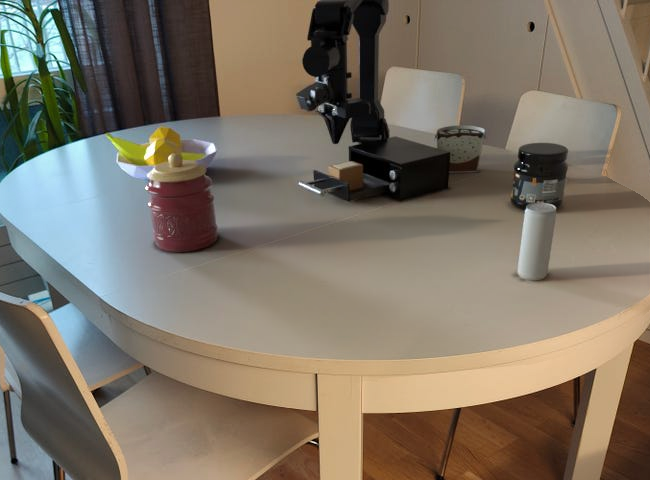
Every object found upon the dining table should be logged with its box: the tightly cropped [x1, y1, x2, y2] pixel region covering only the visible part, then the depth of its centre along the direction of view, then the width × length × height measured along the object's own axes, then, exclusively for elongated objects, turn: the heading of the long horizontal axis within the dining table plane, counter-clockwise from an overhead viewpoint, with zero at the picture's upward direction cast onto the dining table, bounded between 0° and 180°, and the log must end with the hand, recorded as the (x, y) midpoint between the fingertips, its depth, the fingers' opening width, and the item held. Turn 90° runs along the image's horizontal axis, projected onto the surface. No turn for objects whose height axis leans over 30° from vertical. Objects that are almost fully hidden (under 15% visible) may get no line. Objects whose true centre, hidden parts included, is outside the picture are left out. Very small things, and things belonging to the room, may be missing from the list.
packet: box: [328, 161, 363, 190], centre depth 156 cm, size 4×6×5 cm
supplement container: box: [510, 142, 569, 212], centre depth 142 cm, size 10×10×12 cm
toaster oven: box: [348, 136, 450, 202], centre depth 160 cm, size 20×15×8 cm
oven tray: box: [298, 169, 390, 203], centre depth 156 cm, size 14×18×4 cm
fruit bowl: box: [105, 125, 218, 181], centre depth 179 cm, size 28×27×11 cm
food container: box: [433, 124, 487, 174], centre depth 168 cm, size 12×6×10 cm, turn 84°
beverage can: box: [517, 203, 557, 281], centre depth 113 cm, size 5×5×12 cm
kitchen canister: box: [145, 153, 219, 253], centre depth 135 cm, size 13×13×18 cm
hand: (335, 143), depth 151 cm, fingers closed
